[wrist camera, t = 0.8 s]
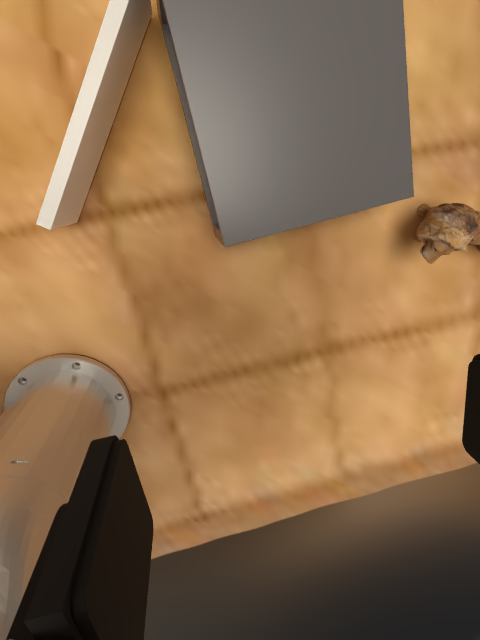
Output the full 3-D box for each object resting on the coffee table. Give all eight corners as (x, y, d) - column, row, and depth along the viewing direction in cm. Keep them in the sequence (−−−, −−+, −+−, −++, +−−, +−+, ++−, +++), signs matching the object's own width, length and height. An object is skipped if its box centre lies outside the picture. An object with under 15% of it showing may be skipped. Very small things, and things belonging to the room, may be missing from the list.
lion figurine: (381, 253, 39) (436, 269, 31) (388, 201, 37) (448, 203, 29) (499, 251, 41) (581, 265, 33) (511, 202, 39) (601, 205, 31)
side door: (66, 218, 32) (36, 223, 26) (140, 5, 28) (127, -54, 22) (77, 222, 33) (50, 230, 26) (152, 13, 29) (143, -43, 22)
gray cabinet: (215, 236, 36) (225, 247, 28) (152, -10, 28) (142, -82, 21) (366, 196, 37) (413, 196, 29) (341, -51, 29) (395, -134, 22)
